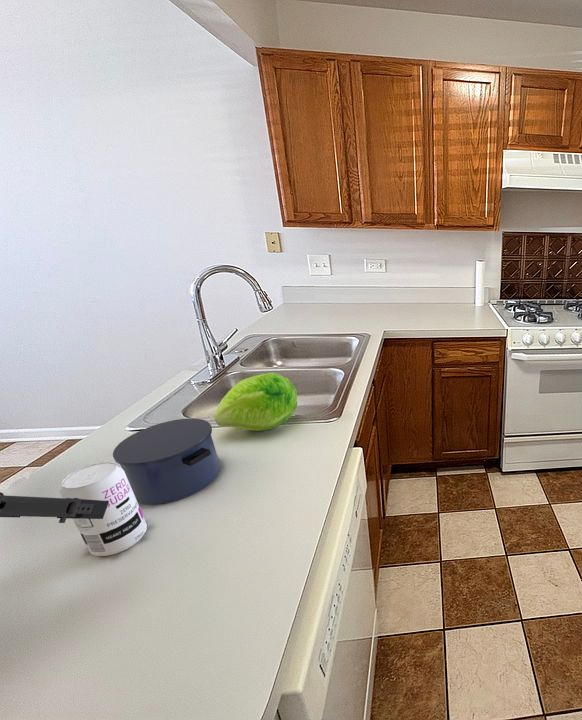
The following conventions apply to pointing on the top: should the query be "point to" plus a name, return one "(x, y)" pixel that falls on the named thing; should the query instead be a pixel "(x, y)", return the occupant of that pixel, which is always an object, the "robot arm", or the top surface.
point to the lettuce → (257, 403)
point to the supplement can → (121, 514)
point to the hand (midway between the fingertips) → (62, 509)
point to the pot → (169, 460)
